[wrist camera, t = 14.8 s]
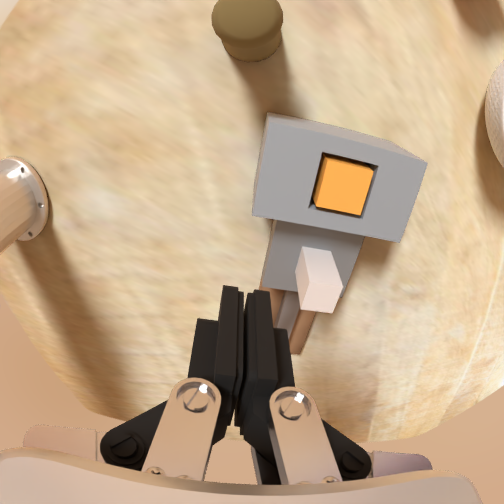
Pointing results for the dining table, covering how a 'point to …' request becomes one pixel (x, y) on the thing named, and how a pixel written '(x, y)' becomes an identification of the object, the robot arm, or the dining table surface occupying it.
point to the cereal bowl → (496, 112)
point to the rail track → (298, 323)
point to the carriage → (310, 263)
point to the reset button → (341, 183)
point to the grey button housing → (305, 170)
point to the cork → (248, 27)
